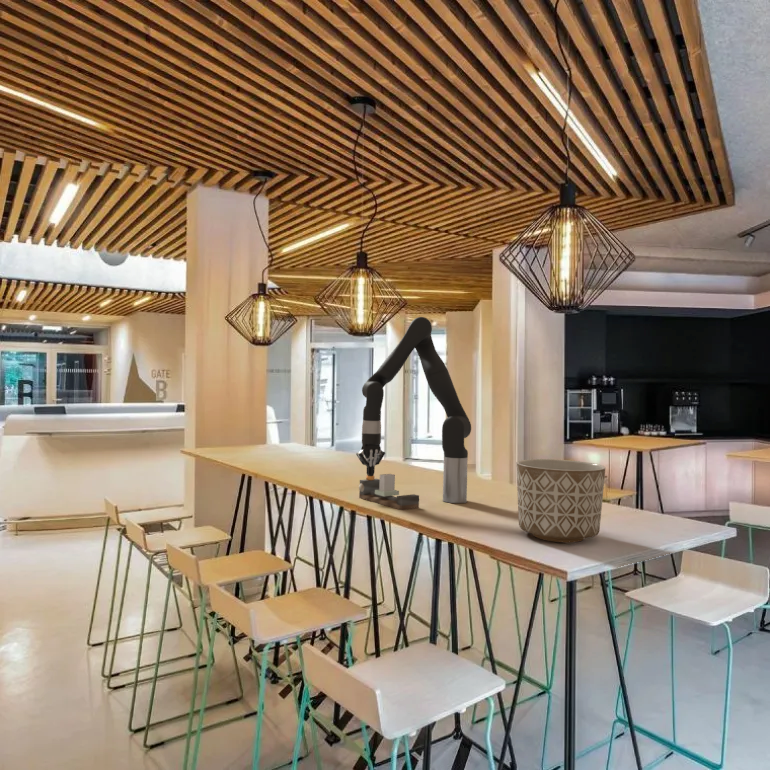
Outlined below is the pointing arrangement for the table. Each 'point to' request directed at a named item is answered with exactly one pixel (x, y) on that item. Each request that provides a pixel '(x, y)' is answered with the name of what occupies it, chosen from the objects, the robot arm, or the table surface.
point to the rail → (398, 502)
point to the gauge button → (369, 477)
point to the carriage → (387, 485)
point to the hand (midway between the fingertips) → (370, 475)
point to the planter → (560, 498)
